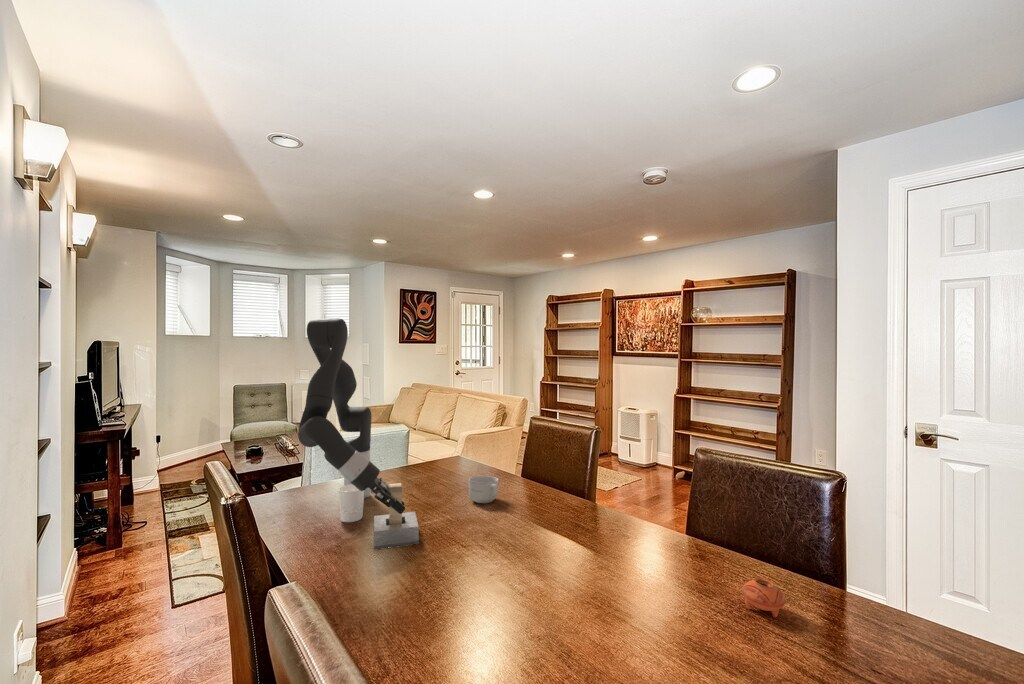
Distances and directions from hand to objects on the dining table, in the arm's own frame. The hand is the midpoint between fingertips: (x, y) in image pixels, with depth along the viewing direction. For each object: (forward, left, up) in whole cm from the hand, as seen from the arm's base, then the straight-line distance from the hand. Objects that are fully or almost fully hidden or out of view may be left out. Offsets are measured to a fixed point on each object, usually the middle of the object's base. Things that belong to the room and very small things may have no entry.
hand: (402, 508), depth 132 cm
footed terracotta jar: (+60, +70, -9) cm, 93 cm away
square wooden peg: (0, -2, -5) cm, 5 cm away
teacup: (-22, +30, -9) cm, 38 cm away
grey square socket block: (0, -2, -8) cm, 9 cm away
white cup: (-20, -15, -9) cm, 26 cm away
